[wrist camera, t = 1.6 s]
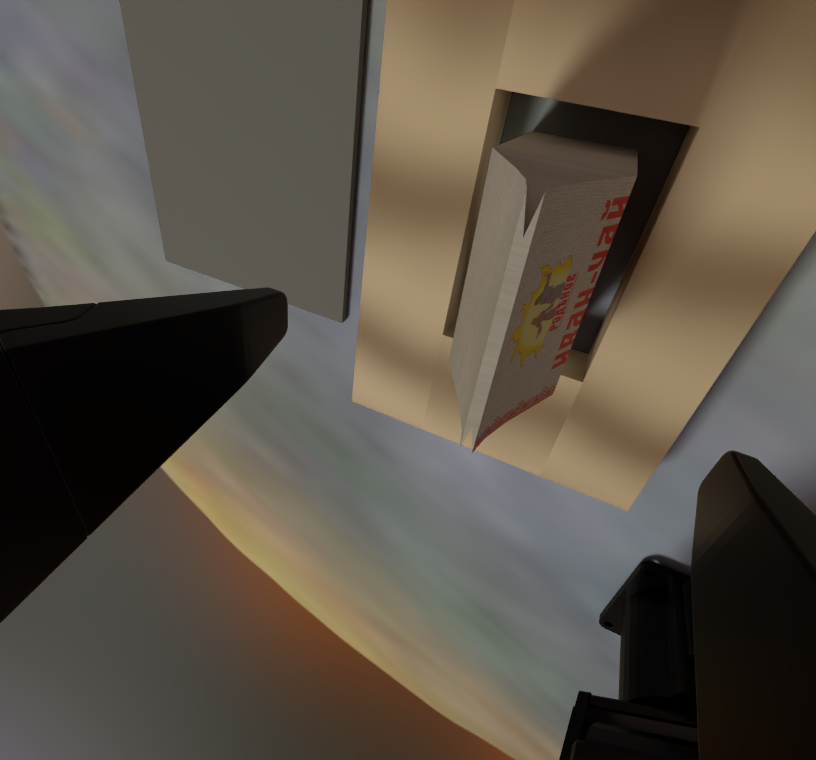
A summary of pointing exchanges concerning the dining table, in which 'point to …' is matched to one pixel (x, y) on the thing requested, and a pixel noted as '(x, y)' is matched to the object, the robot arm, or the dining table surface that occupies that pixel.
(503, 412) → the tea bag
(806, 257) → the dining table surface
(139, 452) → the robot arm
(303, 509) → the dining table surface
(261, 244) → the mat
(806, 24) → the holder
